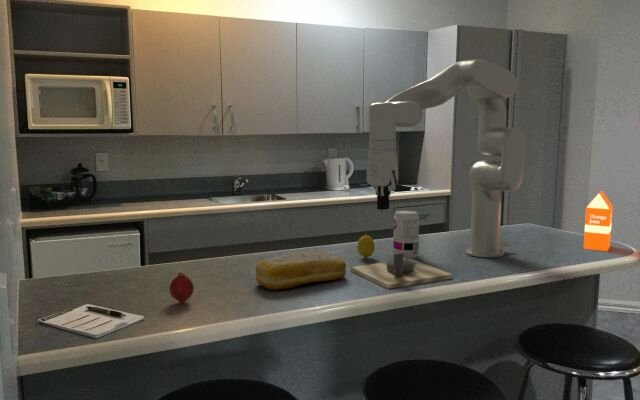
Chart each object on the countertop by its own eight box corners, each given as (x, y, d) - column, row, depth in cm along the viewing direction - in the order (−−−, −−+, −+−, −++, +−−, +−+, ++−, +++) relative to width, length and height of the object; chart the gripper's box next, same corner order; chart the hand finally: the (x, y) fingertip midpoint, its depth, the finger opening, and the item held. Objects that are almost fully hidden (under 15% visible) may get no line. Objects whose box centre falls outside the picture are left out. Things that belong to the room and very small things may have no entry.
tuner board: (410, 262, 177) (410, 258, 177) (452, 278, 159) (452, 273, 159) (350, 270, 167) (350, 266, 167) (387, 288, 150) (387, 284, 149)
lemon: (373, 260, 179) (373, 236, 178) (356, 260, 180) (356, 235, 179) (375, 256, 184) (375, 233, 183) (358, 256, 186) (358, 232, 184)
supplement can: (390, 258, 182) (391, 213, 180) (396, 252, 190) (397, 209, 188) (415, 260, 179) (416, 214, 177) (420, 254, 187) (421, 210, 185)
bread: (247, 284, 155) (247, 256, 154) (325, 269, 170) (325, 244, 169) (271, 297, 144) (271, 267, 143) (352, 280, 159) (352, 252, 158)
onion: (172, 299, 142) (171, 268, 140) (195, 298, 142) (194, 268, 141) (168, 307, 136) (166, 275, 135) (192, 306, 136) (191, 274, 135)
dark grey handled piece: (390, 259, 174) (390, 239, 173) (416, 260, 172) (416, 240, 171) (383, 275, 156) (383, 253, 155) (412, 277, 154) (412, 255, 153)
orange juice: (610, 246, 199) (614, 190, 196) (607, 251, 191) (611, 193, 188) (586, 243, 203) (589, 189, 200) (582, 248, 196) (586, 192, 193)
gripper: (357, 145, 164) (358, 206, 167) (387, 148, 151) (387, 214, 154) (378, 144, 168) (379, 204, 171) (409, 146, 155) (409, 211, 158)
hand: (383, 208), depth 162 cm, fingers closed
